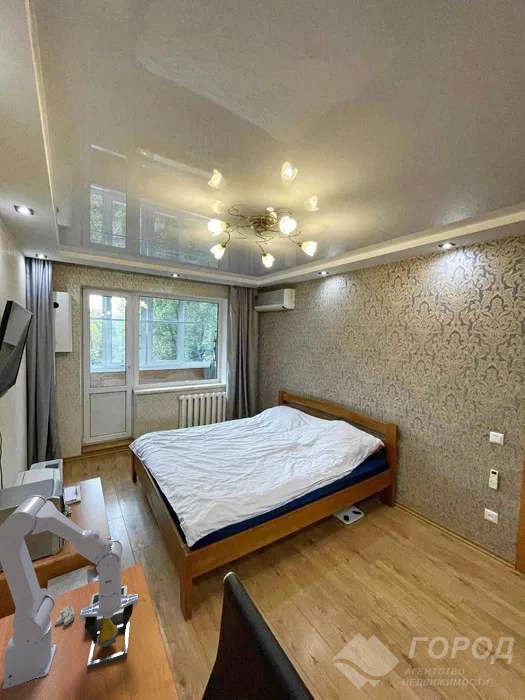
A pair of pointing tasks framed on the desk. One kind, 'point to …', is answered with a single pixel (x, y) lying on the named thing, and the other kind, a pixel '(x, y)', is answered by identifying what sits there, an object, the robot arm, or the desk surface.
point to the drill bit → (107, 633)
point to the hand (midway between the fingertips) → (109, 635)
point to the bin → (116, 617)
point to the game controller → (66, 615)
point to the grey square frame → (112, 657)
